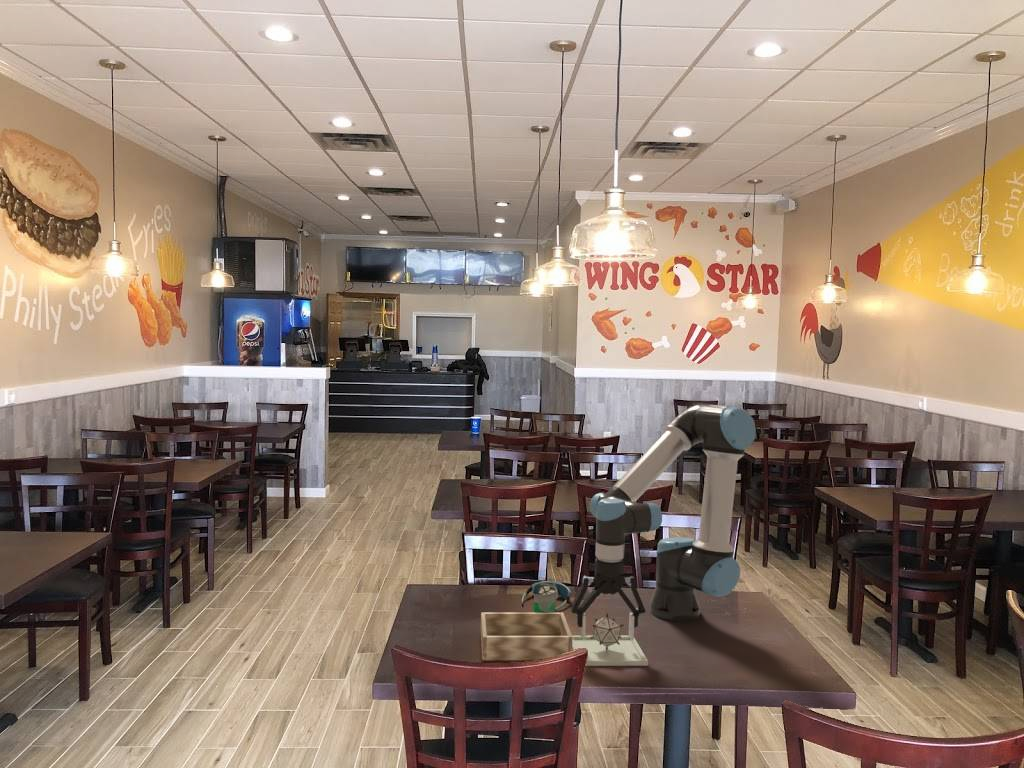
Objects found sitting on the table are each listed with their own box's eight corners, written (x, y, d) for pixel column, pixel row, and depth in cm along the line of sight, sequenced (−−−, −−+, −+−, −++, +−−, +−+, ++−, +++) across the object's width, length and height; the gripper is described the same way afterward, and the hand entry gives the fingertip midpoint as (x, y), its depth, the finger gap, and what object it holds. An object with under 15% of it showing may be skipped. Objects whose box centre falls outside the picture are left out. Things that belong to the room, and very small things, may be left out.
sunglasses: (576, 599, 242) (576, 584, 241) (558, 619, 229) (558, 603, 228) (535, 591, 248) (535, 577, 247) (516, 611, 235) (515, 595, 234)
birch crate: (562, 633, 214) (563, 612, 214) (571, 660, 196) (572, 637, 196) (480, 633, 212) (481, 612, 212) (482, 660, 194) (482, 637, 194)
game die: (587, 644, 206) (588, 607, 205) (618, 643, 206) (619, 607, 206) (594, 657, 197) (594, 618, 197) (626, 656, 197) (627, 618, 197)
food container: (554, 632, 215) (555, 597, 214) (532, 629, 216) (533, 595, 216) (560, 617, 227) (561, 583, 227) (539, 615, 228) (540, 582, 228)
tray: (632, 639, 211) (633, 635, 211) (647, 665, 194) (648, 660, 194) (568, 639, 209) (568, 635, 209) (577, 665, 192) (577, 661, 192)
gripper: (651, 554, 205) (648, 633, 206) (561, 554, 203) (559, 633, 204) (658, 562, 197) (656, 644, 198) (565, 562, 196) (563, 644, 197)
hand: (606, 638), depth 201 cm, fingers open, 12 cm apart
